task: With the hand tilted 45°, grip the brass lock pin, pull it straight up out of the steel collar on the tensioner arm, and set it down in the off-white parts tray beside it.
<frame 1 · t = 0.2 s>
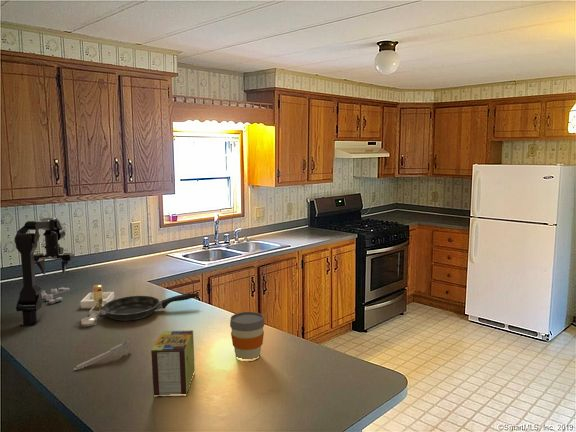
hand: (54, 273, 231), 15 cm above the counter, tool pointing down, fingers open, 9 cm apart
protein box: (175, 385, 150), on the counter
pulley system: (50, 298, 242), on the counter
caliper: (103, 362, 167), on the counter
lock pin: (98, 299, 217), in the tensioner arm
tensioner arm: (99, 312, 218), on the counter
parts tray: (98, 303, 231), on the counter
reusable coffee cup: (247, 357, 171), on the counter
frying pan: (147, 312, 218), on the counter
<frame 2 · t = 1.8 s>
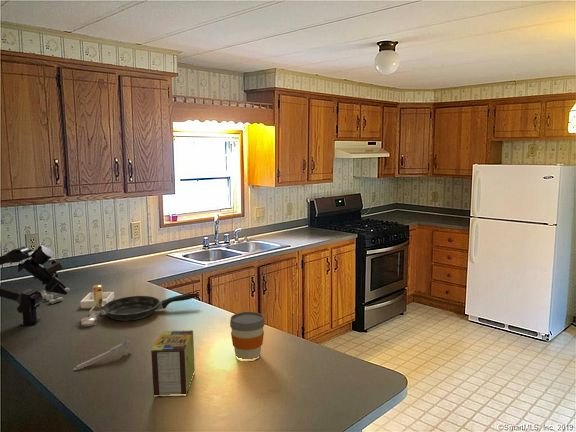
hand: (65, 291, 210), 13 cm above the counter, tool tilted 45°, fingers open, 9 cm apart
nothing on the counter moved.
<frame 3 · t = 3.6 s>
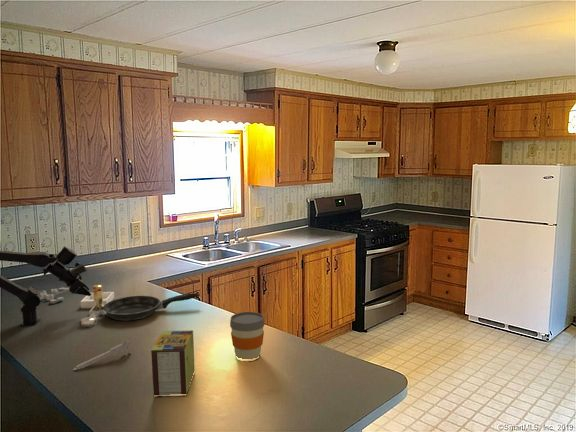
hand: (89, 292, 215), 10 cm above the counter, tool tilted 45°, fingers open, 9 cm apart
nothing on the counter moved.
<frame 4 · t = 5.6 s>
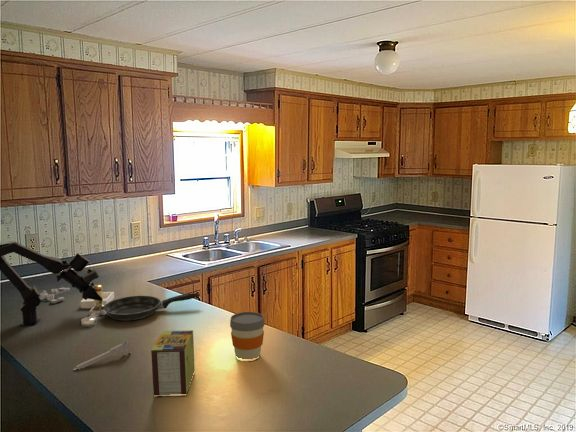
hand: (101, 298, 217), 7 cm above the counter, tool tilted 45°, fingers closed on lock pin, 4 cm apart
lock pin: (98, 299, 217), in the tensioner arm, touching gripper
everything else where it was.
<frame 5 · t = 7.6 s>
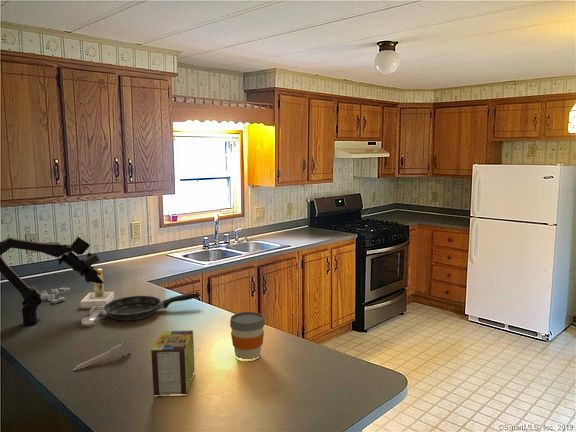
hand: (101, 282, 220), 14 cm above the counter, tool tilted 45°, fingers closed on lock pin, 4 cm apart
lock pin: (98, 282, 219), point 14 cm above the counter, touching gripper
everything else where it was.
when the fingers open (9 cm above the counter, at t = 9.7 s): lock pin drops 2 cm, resting on parts tray.
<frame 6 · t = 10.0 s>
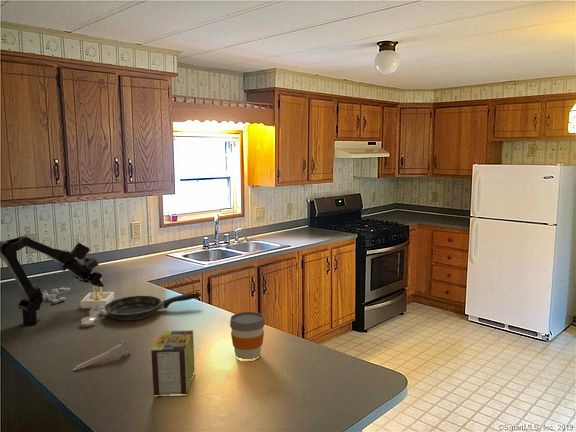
hand: (99, 285, 231), 9 cm above the counter, tool tilted 45°, fingers open, 7 cm apart
lock pin: (97, 289, 230), in the parts tray, point 7 cm above the counter
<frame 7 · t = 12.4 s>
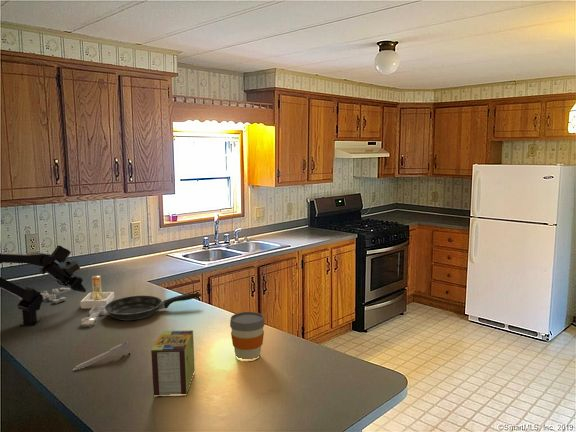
hand: (80, 289, 223), 9 cm above the counter, tool tilted 45°, fingers open, 9 cm apart
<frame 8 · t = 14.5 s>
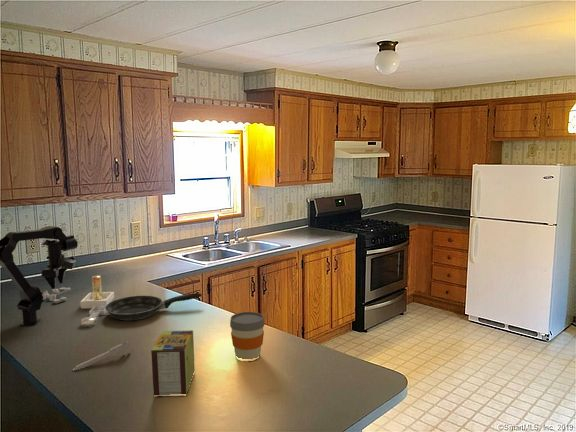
hand: (57, 286, 216), 13 cm above the counter, tool pointing down, fingers open, 9 cm apart
at the end: lock pin inside the target area on the parts tray (0.0 cm from its centre), point 7.3 cm above the parts tray's base; the gripper is holding nothing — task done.
